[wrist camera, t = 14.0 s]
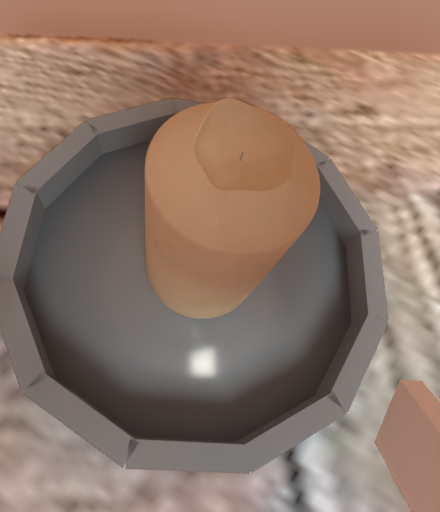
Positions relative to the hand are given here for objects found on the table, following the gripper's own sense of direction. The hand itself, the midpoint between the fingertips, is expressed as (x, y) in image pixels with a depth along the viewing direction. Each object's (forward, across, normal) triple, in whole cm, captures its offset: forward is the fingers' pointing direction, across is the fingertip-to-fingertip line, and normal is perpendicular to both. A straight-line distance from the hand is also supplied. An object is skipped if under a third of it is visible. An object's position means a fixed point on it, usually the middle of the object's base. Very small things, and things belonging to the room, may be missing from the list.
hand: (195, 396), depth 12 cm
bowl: (+9, 0, 0) cm, 9 cm away
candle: (+9, 0, +1) cm, 9 cm away
